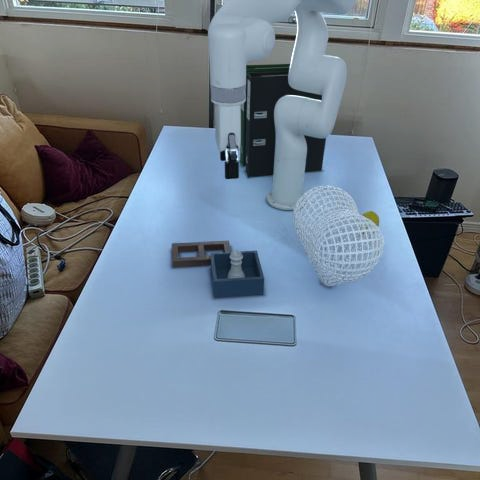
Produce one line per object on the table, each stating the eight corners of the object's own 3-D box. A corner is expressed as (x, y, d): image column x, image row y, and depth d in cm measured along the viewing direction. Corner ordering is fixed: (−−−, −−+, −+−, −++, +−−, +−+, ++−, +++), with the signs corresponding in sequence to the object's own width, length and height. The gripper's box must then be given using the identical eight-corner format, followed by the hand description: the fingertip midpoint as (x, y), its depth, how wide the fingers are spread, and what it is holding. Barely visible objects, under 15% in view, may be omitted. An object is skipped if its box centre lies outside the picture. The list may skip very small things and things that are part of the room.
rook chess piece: (247, 276, 119) (248, 250, 113) (241, 287, 115) (241, 260, 110) (230, 273, 120) (230, 246, 114) (224, 283, 117) (224, 256, 111)
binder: (310, 155, 177) (321, 62, 156) (322, 172, 167) (336, 74, 145) (240, 160, 173) (241, 65, 152) (248, 178, 162) (251, 78, 141)
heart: (280, 256, 127) (287, 178, 112) (333, 249, 130) (347, 173, 115) (317, 324, 107) (331, 240, 92) (379, 314, 110) (403, 232, 95)
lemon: (375, 242, 133) (382, 217, 128) (356, 239, 134) (361, 214, 128) (375, 232, 137) (381, 207, 132) (356, 230, 138) (361, 205, 132)
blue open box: (210, 269, 122) (210, 252, 118) (256, 266, 123) (256, 250, 120) (214, 298, 113) (213, 281, 110) (263, 295, 114) (264, 278, 111)
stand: (172, 249, 128) (171, 243, 127) (228, 246, 130) (228, 240, 129) (172, 267, 122) (172, 261, 121) (232, 264, 124) (232, 258, 122)
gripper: (207, 81, 105) (210, 154, 117) (214, 107, 93) (217, 187, 105) (240, 79, 106) (239, 153, 118) (252, 106, 94) (250, 185, 105)
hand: (229, 169), depth 111 cm, fingers open, 9 cm apart
